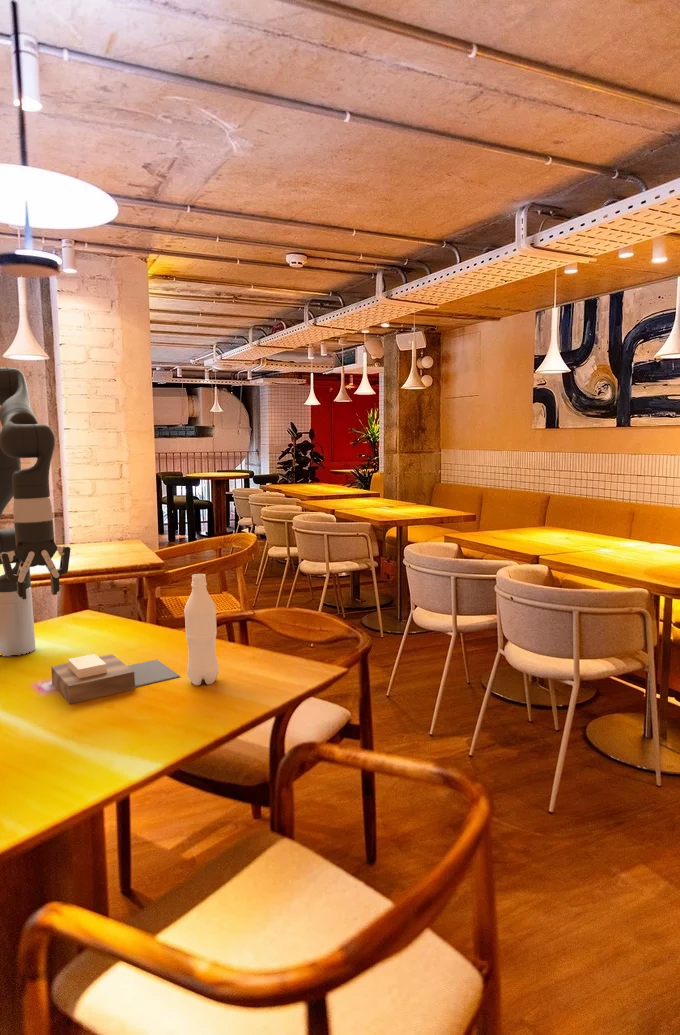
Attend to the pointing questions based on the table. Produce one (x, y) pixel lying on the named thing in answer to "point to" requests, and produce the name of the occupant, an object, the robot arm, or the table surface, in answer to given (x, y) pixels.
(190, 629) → the water bottle
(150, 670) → the mat
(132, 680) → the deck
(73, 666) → the white flat block
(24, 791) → the table surface
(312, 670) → the table surface
